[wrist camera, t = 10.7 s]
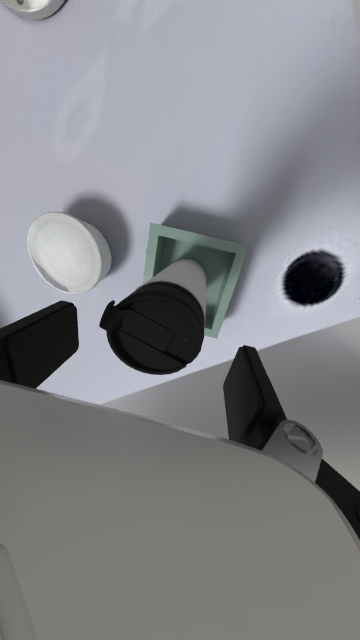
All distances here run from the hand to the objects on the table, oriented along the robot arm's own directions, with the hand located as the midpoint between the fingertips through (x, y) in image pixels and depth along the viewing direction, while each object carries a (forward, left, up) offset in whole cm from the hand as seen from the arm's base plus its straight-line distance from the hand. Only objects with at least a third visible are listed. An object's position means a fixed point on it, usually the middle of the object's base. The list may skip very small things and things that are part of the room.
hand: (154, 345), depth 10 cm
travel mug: (0, 0, -21) cm, 21 cm away
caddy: (0, 0, -21) cm, 21 cm away
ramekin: (0, -18, -22) cm, 28 cm away
